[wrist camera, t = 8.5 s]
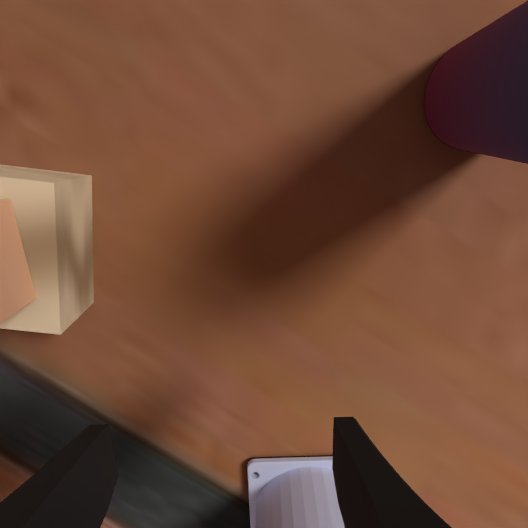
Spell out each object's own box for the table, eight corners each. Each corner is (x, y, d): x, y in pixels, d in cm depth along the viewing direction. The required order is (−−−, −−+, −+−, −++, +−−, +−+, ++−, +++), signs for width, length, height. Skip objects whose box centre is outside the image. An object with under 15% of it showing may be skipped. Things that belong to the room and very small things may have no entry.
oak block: (95, 300, 22) (60, 334, 18) (-32, 287, 21) (-95, 318, 18) (94, 175, 20) (54, 182, 16) (-47, 158, 19) (-123, 161, 16)
